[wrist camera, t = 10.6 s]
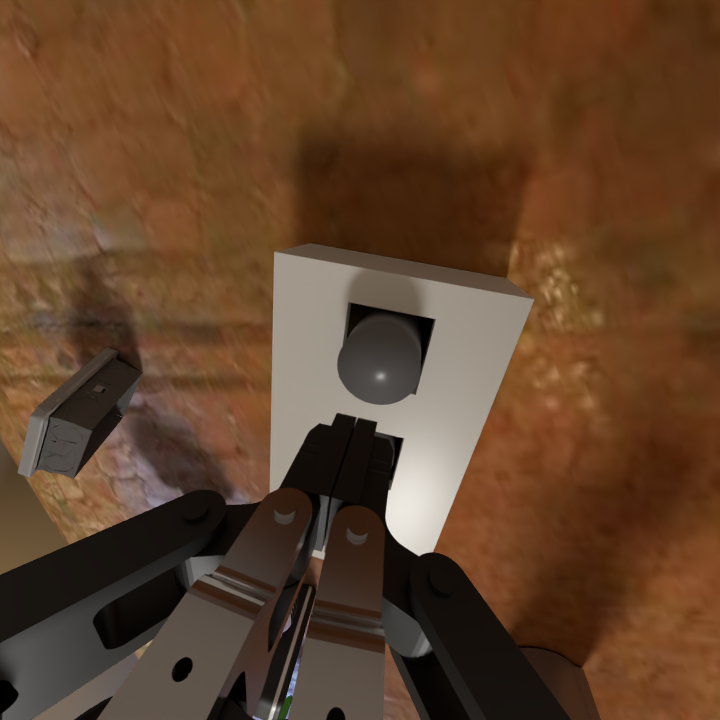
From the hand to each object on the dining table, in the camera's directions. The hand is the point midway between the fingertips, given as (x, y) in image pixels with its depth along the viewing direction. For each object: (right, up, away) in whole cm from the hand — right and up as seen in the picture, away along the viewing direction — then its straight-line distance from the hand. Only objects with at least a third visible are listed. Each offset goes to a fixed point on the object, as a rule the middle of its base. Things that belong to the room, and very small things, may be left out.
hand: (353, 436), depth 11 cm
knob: (+2, +4, +9) cm, 11 cm away
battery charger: (-8, -29, +31) cm, 44 cm away
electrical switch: (-24, 0, +21) cm, 32 cm away
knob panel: (+2, -2, +16) cm, 16 cm away
